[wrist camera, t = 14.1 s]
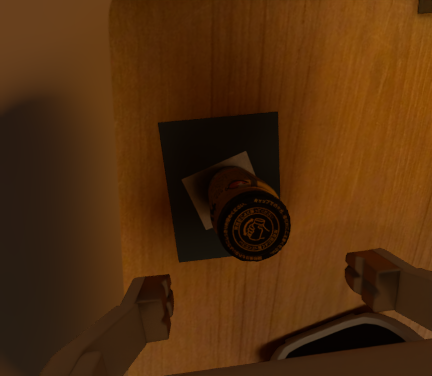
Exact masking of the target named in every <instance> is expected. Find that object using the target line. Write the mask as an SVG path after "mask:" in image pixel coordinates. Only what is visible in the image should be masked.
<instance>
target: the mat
mask: <svg viewBox="0 0 432 376" xmlns="http://www.w3.org/2000/svg"><path fill="white" fill-rule="evenodd" d="M158 127H159V133H160V140H161V147H162V153H163V160H164V166H165V173H166V180H167V186H168V193H169V199H170V206H171V213H172V219H173V226H174V232H175V239H176V246H177V252H178V259H179V262H187V261H195V260H204V259H212V258H221V257H229V256H232V255H230V254H229V253H228V252H227V251H226V250H225V248H224V247H223V246H222V244H221V242H220V240H219V237H218V235H217V233H216V232H215V230H214V229H213V228H210V229H208V230H206V229H205V227H204V225H203V222H202V220H201V218H200V216H199V214H198V212H197V210H196V208H195V206H194V204H193V202H192V200H191V198H190V196H189V194H188V192H187V190H186V188H185V186H184V184H183V182H182V179H184V178H186V177H189V176H191V175H193V174H195V173H197V172H200V171H202V170H204V169H207V168H209V167H211V166H213V165H215V164H218V163H220V162H222V161H224V160H227V159H229V158H231V157H233V156H236V155H238V154H240V153H243V152H245V151H246V153H247V155H248V158H249V160H250V163H251V165H252V168H253V171H254V173H255V176H256V177H257V178H259V179H260V180H263V181H264V182H265V183H267V184H268V185H269V186H270V187H271V188H272V189H274V191H275V192H276V194H277V196H278V197H279V200H280V174H279V136H278V112H268V113H257V114H247V115H236V116H225V117H214V118H204V119H193V120H182V121H172V122H161V123H158ZM280 250H281V249H280ZM280 250H279V251H280Z"/></svg>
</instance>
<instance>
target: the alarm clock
mask: <svg viewBox="0 0 432 376" xmlns="http://www.w3.org/2000/svg"><path fill="white" fill-rule="evenodd" d="M417 340H425V339H424V338H422V337H421V336H420V335H419V334H417V333H416V332H415V331H414V330H412V329H411V328H410V327H408V326H406V325H405V324H403V323H401V322H399V321H398V320H396V319H394V318H391V317H388V316H385V315H382V314H376V313H367V312H366V313H362V314H359V315H355V314H354V313H352V314H349V315H346V316H344V317H341V318H339V319H336V320H334V321H331V322H329V323H326V324H324V325H321V326H319V327H316V328H313V329H311V330H308V331H306V332H303V333H301V334H298V335H296V336H293V337H291V338H288V339H286V340H285V342H286V343H285V344H283V345H281V346H279V347H278V348H277V349H276V351H275V352H274V353H273V355H272V356H271V358H270V361H273V360H280V359H288V358H295V357H302V356H309V355H316V354H323V353H330V352H337V351H345V350H352V349H359V348H366V347H374V346H381V345H388V344H396V343H403V342H410V341H417Z"/></svg>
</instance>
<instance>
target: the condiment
mask: <svg viewBox="0 0 432 376" xmlns="http://www.w3.org/2000/svg"><path fill="white" fill-rule="evenodd" d="M182 182H183V184H184V186H185V188H186V190H187V192H188V194H189V196H190V198H191V200H192V202H193V204H194V206H195V208H196V210H197V212H198V214H199V216H200V218H201V220H202V222H203V225H204V227H205V229H206V230H208V229H210V228H213V229H214V230H215V232H216V233H217V235H218V237H219V240H220V242H221V244H222V246H223V247H224V248H225V250H226V251H227V252H228V253H229V254H230V255H232V256H234V257H236V258H237V259H239V260H242V261H256V262H257V261H261V260H264V259H267V258H269V257H271V256H273V255H275V254H277V253H278V251H279V250H280V249H281V248H282V247H283V246H284V245H285V244H286V242H287V240H288V238H289V234H290V228H291V224H290V216H289V214H288V210H287V209H286V206H285V205H284V204H283V203H282V202H281V201H280V200H279V197H278V196H277V194H276V192H275V191H274V189H272V188H271V187H270V186H269V185H268V184H267V183H265V182H264V181H263V180H260V179H259V178H257V177H256V176H255V173H254V171H253V168H252V165H251V163H250V160H249V158H248V155H247V153H246V151H245V152H243V153H240V154H238V155H236V156H233V157H231V158H229V159H227V160H224V161H222V162H220V163H218V164H215V165H213V166H211V167H209V168H207V169H204V170H202V171H200V172H197V173H195V174H193V175H191V176H189V177H186V178H184V179H182Z"/></svg>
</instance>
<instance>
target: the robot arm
mask: <svg viewBox="0 0 432 376" xmlns="http://www.w3.org/2000/svg"><path fill="white" fill-rule="evenodd" d="M345 261H346V263H347V264H348V266H347V268H346V269H345V279H346V282H347V284H348V285H349V287H350V288H351V289H352V290H353V291H354V292H356V293H358V294H360V295H361V298H362V300H363V301H364V302H365V303H366V304H367V305H368V306H369V307H370V308H371V309H372V310H373V311H374V312H379V311H389V310H395V311H396V312H398V313H400V314H402V315H403V316H405V317H407V318H409V319H411V320H412V321H414V322H416V323H418V324H420V325H421V326H423V327H425V328H427V329H429V330H430V331H432V271H428V270H425V269H422V268H415V267H413V266H411V265H410V264H408V263H406V262H405V261H403V260H401V259H400V258H398V257H396V256H395V255H393V254H391V253H390V252H388V251H386V250H385V249H382V248H377V249H371V250H366V251H358V252H351V253H347V255H346V260H345ZM170 286H171V278H170V275H169V274H165V275H155V276H147V277H146V276H145V277H137V278H134V279H133V281H132V283H131V285H130V287H129V289H128V291H127V293H126V295H125V296H124V298H123V300H122V303H121V304H120V306H116V307H115V308H113V309H112V310H111V311H109V312H108V313H107V314H106V315H104V316H103V317H102V318H100V319H99V320H98V321H96V322H95V323H94V324H93V325H91V326H90V327H89V328H87V329H86V330H85V331H84V332H82V333H81V334H80V335H78V336H77V337H76V338H75V339H73V340H72V341H71V342H69V343H68V344H67V345H66V346H64V347H63V348H62V349H60V350H59V351H58V352H57V353H55V354H54V355H53V356H52V357H51V359H50V360H49V362H48V363H47V365H46V366H45V367H44V369H43V370H42V372H41V373H40V374H39V376H123V375H124V374H125V372H126V371H127V370H128V368H129V367H130V366H131V364H132V363H133V362H134V360H135V359H136V358H137V356H138V355H139V354H140V352H141V351H142V350H143V348H144V347H145V346H146V343H149V342H155V341H161V340H167V339H169V333H170V328H171V320H170V317H171V316H172V315H173V310H174V296H173V291H172V290H171V289H170ZM166 376H432V339H425V340H417V341H410V342H403V343H396V344H388V345H381V346H374V347H366V348H359V349H352V350H345V351H337V352H330V353H323V354H316V355H309V356H302V357H295V358H288V359H280V360H273V361H266V362H259V363H252V364H245V365H237V366H230V367H223V368H216V369H209V370H202V371H194V372H187V373H180V374H173V375H166Z"/></svg>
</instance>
